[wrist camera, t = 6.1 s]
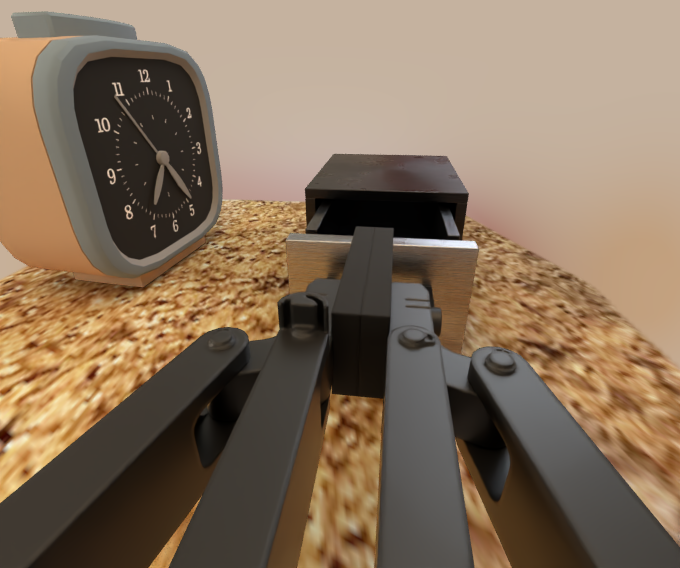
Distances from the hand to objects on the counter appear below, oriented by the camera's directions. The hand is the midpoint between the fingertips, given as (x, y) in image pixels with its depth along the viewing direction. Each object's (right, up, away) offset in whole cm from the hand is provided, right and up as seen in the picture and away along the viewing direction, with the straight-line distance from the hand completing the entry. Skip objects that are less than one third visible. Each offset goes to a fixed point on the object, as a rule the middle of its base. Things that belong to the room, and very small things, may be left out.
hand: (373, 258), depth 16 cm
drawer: (+2, -3, +15) cm, 16 cm away
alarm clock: (-22, +2, +26) cm, 35 cm away
